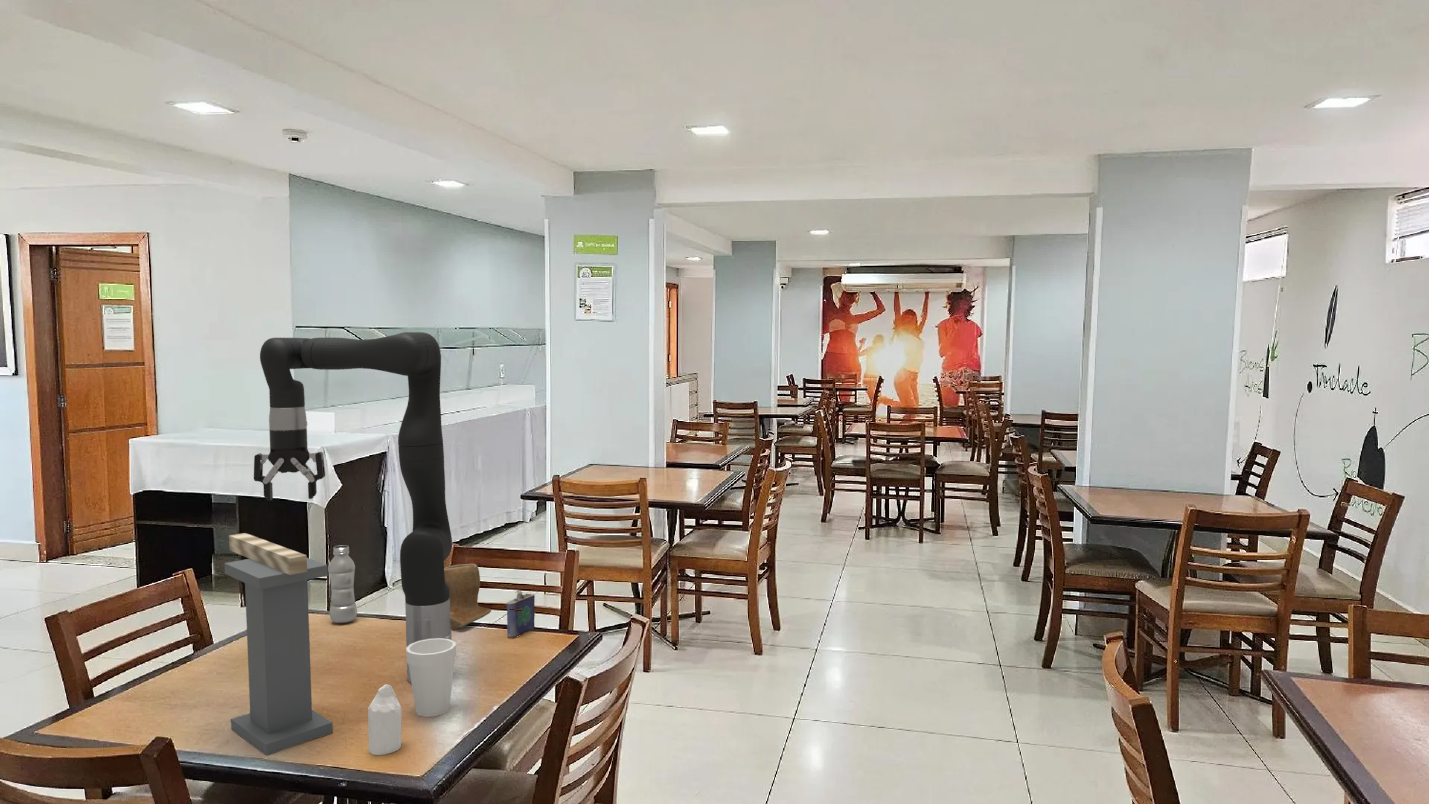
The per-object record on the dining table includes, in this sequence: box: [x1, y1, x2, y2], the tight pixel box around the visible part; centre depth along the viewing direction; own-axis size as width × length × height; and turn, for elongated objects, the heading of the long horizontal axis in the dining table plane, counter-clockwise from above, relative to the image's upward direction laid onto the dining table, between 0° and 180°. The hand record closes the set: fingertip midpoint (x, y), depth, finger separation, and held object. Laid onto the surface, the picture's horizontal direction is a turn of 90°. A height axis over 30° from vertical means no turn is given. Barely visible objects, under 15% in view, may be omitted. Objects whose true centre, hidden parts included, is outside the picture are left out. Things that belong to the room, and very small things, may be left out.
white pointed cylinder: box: [367, 683, 403, 756], centre depth 157 cm, size 6×12×6 cm
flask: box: [506, 590, 536, 639], centre depth 219 cm, size 9×3×11 cm, turn 151°
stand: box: [224, 557, 334, 756], centre depth 163 cm, size 16×12×32 cm
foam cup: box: [405, 638, 457, 718], centre depth 173 cm, size 10×9×13 cm
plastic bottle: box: [327, 544, 358, 624], centre depth 228 cm, size 6×7×20 cm
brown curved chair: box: [444, 563, 492, 630], centre depth 228 cm, size 15×12×15 cm
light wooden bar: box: [228, 532, 308, 575], centre depth 165 cm, size 28×3×3 cm, turn 49°
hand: (290, 499), depth 196 cm, fingers open, 8 cm apart
